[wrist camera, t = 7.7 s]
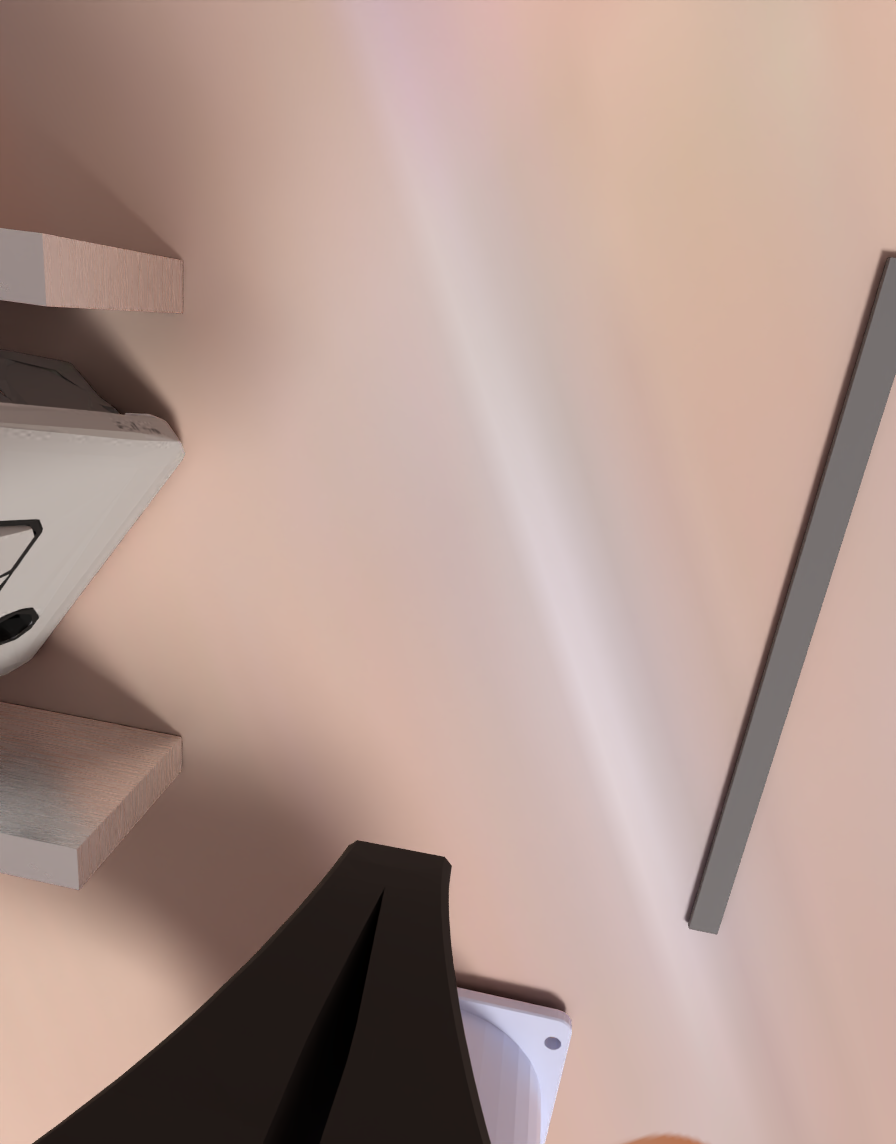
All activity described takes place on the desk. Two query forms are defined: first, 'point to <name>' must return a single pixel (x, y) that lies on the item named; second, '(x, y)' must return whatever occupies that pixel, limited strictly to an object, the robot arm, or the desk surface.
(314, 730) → the desk surface
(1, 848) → the bracket
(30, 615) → the electrical switch
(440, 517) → the desk surface
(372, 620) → the desk surface
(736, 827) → the long thin gray rod
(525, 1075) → the robot arm
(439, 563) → the desk surface
